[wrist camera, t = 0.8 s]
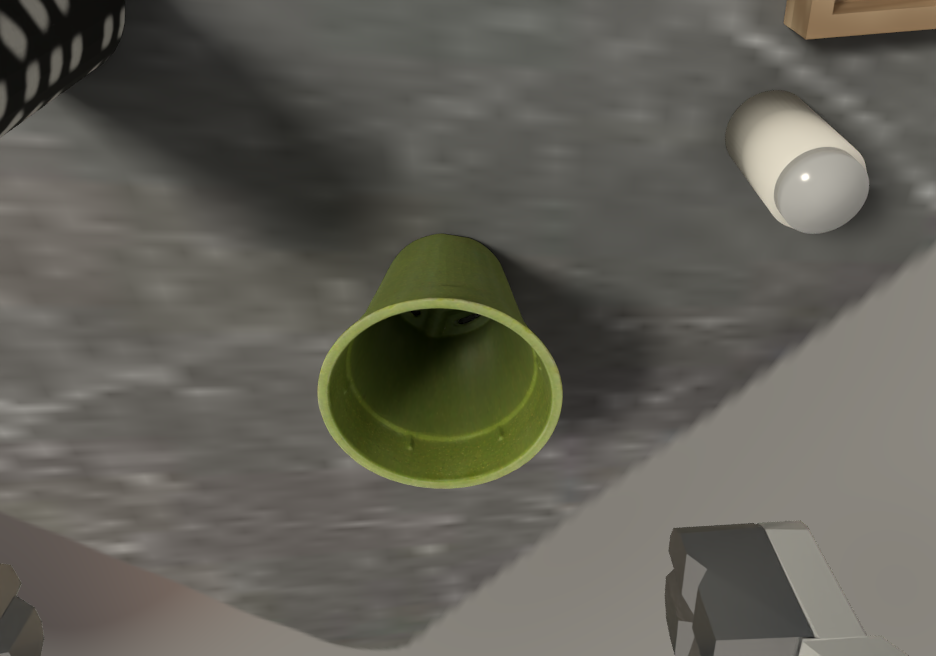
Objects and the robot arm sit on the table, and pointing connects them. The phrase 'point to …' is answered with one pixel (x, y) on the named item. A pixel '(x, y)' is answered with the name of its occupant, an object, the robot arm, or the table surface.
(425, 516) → the table surface
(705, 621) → the robot arm
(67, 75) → the spotted tube
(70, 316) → the table surface
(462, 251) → the plant pot
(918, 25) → the caddy
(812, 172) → the salt shaker
